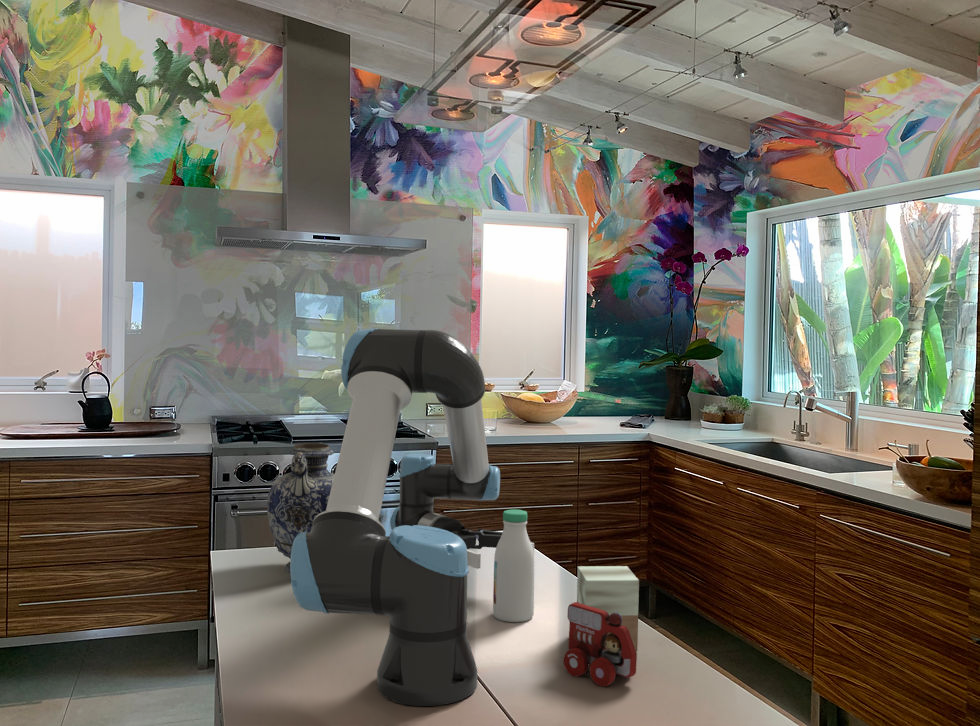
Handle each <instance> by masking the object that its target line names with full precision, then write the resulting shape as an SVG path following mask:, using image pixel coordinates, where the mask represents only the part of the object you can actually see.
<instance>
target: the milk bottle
mask: <svg viewBox="0 0 980 726" xmlns="http://www.w3.org/2000/svg"><path fill="white" fill-rule="evenodd" d="M502 523H503V531H502V532H503V533H502V536H501V538H500V540H499V542H498V544H497V547H496V548H495V552H494V558H493V559H494V560H493V562H494V563H493V588H492V589H493V594H492V595H493V598H492V599H493V600H492V601H493V602H492V607H493V608H492V613H493V616H494V618H496V619H497V620H499V621H502V622H507V623H523V622H527V621H529V620H532V618H533V617H534V613H535V611H534V610H535V571H536V570H535V550H534V551H533V547H532V545H531V542H532V541H531V540H530V537H529V535H528V531H527V524H528V511H526V510H522V509H507V510H504V511H503V512H502Z"/></svg>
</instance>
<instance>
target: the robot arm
mask: <svg viewBox="0 0 980 726" xmlns="http://www.w3.org/2000/svg"><path fill="white" fill-rule="evenodd" d="M341 380H342V384H343V386H344V388H345V389H346V390H347V393H348V396H349V397H350V399H352V402H351V406H350V411H349V414H348V418H347V422H346V425H345V426H346V428H345V430H344V435H343V439H342V443H341V448H340V451H339V455H338V459H337V463H336V468H335V471H334V474H335V475H334V479H333V483H332V488H331V492H330V496H329V500H328V504H327V508H326V511H324V512H322V513H320V514H318V515H317V516H316V517H315V518H314V521H313V524H312V528H311V532H310V533H308V532H307V531H305V532H302V533H299V534H298V535H297V536H296V537H295V539H294V541H293V545H292V550H291V559H289V560H290V561H289V562H290V573H289V575H290V583H291V588H292V589H291V590H292V593H293V596H294V599H295V601H296V603H297V604H298V606H299V607H300V608H302V609H303V610H305V611H313V612H320V613H324V614H327V615H329V614H331V613H332V614H351V615H354V614H356V615H369V616H370V615H373V616H385V617H386V616H388V617H389V628H388V629H389V631H388V632H389V633H388V638H387V640H386V644H385V646H384V649H383V653H382V655H381V659H380V661H379V665H378V668H377V671H376V672H377V673H376V688H377V691H378V693H380V695H382V696H383V697H385V698H386V699H388V700H389V701H392V702H395V703H398V704H402V705H406V706H416V707H434V706H435V707H436V706H443V705H448V704H452V703H456V702H457V703H458V702H459V701H463V700H464V699H466V698H468V697H469V696H470V695H472V694H473V693H474V692H475V691H476V690H477V688H478V668H477V665H476V661H475V656H474V654H473V651H472V647H471V645H470V642H469V637H468V635H467V620H468V619H467V616H468V609H467V608H468V607H467V606H468V574H469V571H470V568H469V567H471V568H474V569H476V570H479V569H481V561H482V560H481V558H482V557H481V553H479V552H477V551H473V550H472V549H475V550H481V549H482V548H492V549H493V548H494V549H496V547H497V544H498V542H499V540H500V538H501V536H502V533H503V531H498V530H488V529H484V528H481V527H480V528H478V529H477V530H471V529H467V528H466V527H465V526H464V524H463V522H461V521H460V520H459V519H455V518H452V517H448V516H446V515H443V514H439V513H436V512H434V500H435V499H437V500H438V499H439V500H440V499H441V500H443V499H446V500H463V501H464V500H466V501H467V500H468V501H479V502H482V501H495V500H497V499H498V498H499V495H500V488H501V470H500V468H499V467H498V466H496V465H494V466H493V465H491V464H489V457H488V454H489V453H488V446H487V439H486V430H485V428H486V427H485V421H484V412H483V403H482V399H483V397H484V395H485V393H486V384H485V377H484V372H483V369H482V367H481V365H480V363H479V361H478V360H477V358H476V357H475V355H474V354H473V353H472V352H471V350H470V349H469V348H468V347H467V346H466V345H465V344H464V343H463V342H462V341H460V340H459V339H458V338H457V337H455V336H453V335H451V334H449V333H447V332H444V331H441V330H436V329H386V328H385V329H384V328H383V329H382V328H376V327H375V328H371V329H369V328H368V329H360V330H357V331H355V332H354V333H352V335H351V336H350V337H349V339H348V340H347V342H346V345H345V347H344V350H343V353H342V364H341ZM413 393H415V394H417V393H418V394H420V393H421V394H427V393H431V394H435V397H436V399H437V401H438V402H439V403H440V404H441V405H442V408H443V412H444V413H443V414H444V421H445V424H446V433H447V436H448V437H447V438H448V442H449V448H450V454H451V460H452V464H447V463H446V464H445V463H436V460H435V457H434V455H433V454H428V453H427V454H426V453H408V454H405V455H404V456H402V457H401V459H400V470H399V473H400V474H399V475H398V476H399V505H398V506H397V507H396V508H395V509H394V510H393V512H392V514H391V516H390V518H389V519H390V521H389V522H390V526H389V527H390V530H391V532H390V534H389V536H388V535H387V536H386V528H385V526H384V525H383V524H382V522H381V521H380V515H381V512H382V506H383V500H384V495H385V490H386V484H387V481H388V474H389V469H390V464H391V459H392V454H393V450H394V449H393V448H394V444H395V439H396V433H397V430H398V429H397V428H398V423H399V419H400V413H401V410H403V409H405V408H407V407H408V405H409V404H410V403H411V400H412V396H413ZM477 542H478V544H477ZM530 542H531V545H532V547H533V551H534V552H535V543H534V542H532V541H530ZM470 549H471V550H470Z"/></svg>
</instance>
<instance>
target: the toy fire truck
mask: <svg viewBox="0 0 980 726" xmlns="http://www.w3.org/2000/svg"><path fill="white" fill-rule="evenodd" d="M567 620H568V621H569V627H568V628H569V629H568V645H567V646H568V649H567V651H566V652H565V653H564V656H563V665H564V668H565V671H567V673H568V674H569V675H571V676H572V677H580V676H582V675H584V674H586V673H587V672H588V670H589V675H590V678H591V679H592V681H593V683H595V684H596V685H598V686H599V687H608V686H609V685H612V684H613V682H615V678H616V675H617V676H618V677H624V678H627V679H628V678H632V677H634V676H635V675H636V673H637V661H638V652H637V650H635V647H634V644H633V641H632V639H631V635H630V633H629V630H628V628H627V627H626V626H624V625H620V624H621V623H622V617H621V615H620V614H618V613H612V614H611V615H610V616H609V614H608V612H606V611H604V610H601V609H597V608H594V607H590V606H587V605H584V604H581V603H577V601H576V602H572V603H570V604H569V605H568V607H567ZM608 633H610V634H608ZM607 634H608V635H607Z"/></svg>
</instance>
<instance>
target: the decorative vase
mask: <svg viewBox="0 0 980 726" xmlns="http://www.w3.org/2000/svg"><path fill="white" fill-rule="evenodd" d="M289 454H290V455H291V456H292V459H291V467H290V472H288V473H286V474H283V475H282V476H280V477H279V478H278V479H276V480H275V482H274V483H273V484H272V485H271V487H270V489H269V492H268V495H267V503H266V505H267V506H266V507H267V520H268V525H269V528H270V531H271V533H272V537H273V542H274V543H275V546H276V549H277V551H278V552H279V553H281V554H282V555H283V556H284V557H287V558H289V560H291V550H292V545H293V541H294V539H295V537H296V536H297V535H298V534H299V533H302V532H305V531H307V532H308V533H310V532H311V528H312V524H313V521H314V518H315V517H316V516H317V515H318V514H320V513H322V512H324V511H326V508H327V504H328V500H329V496H330V492H331V488H332V483H333V479H334V475H335V473H332V472H330V471H329V470H328V469H327V468H328V467H329V466H328V461H329V460H328V459H329V456H333V455H334V450H332V449H331V448H330V445H329V444H326V443H323V442H318V443H316V442H312V443H311V442H306V443H305V442H303V443H297V444H296V443H295V444H294V445H293V448H291V449H290V450H289ZM284 571H285V572H286V573H288V574H290V561H289V562H287V563H286V564H285V566H284Z"/></svg>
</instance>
